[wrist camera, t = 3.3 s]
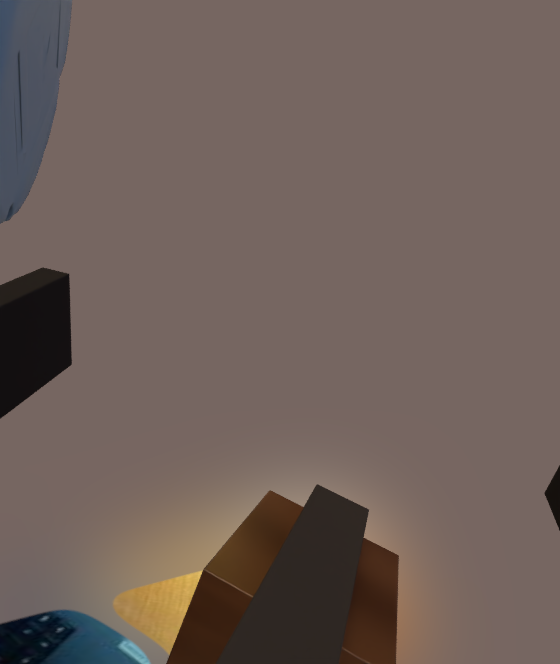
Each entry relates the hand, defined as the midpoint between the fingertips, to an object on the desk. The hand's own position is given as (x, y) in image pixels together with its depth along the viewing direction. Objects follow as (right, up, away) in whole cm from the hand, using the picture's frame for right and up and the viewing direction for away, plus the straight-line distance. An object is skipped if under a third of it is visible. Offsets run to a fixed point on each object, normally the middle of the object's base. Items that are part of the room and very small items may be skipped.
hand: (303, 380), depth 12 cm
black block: (+1, -12, +12) cm, 18 cm away
